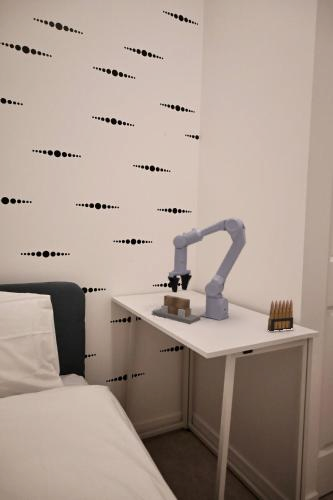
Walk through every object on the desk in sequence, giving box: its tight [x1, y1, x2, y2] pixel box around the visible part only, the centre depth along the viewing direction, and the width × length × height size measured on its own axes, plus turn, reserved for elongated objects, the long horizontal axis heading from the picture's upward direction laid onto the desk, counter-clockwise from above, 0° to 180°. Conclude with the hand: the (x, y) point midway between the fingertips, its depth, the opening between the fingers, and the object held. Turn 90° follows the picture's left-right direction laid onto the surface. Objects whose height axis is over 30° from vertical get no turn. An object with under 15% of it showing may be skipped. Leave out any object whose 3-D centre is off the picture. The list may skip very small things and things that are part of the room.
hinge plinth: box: [151, 304, 202, 325], centre depth 136 cm, size 20×8×4 cm, turn 52°
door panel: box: [163, 294, 191, 317], centre depth 136 cm, size 12×3×7 cm, turn 52°
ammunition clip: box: [267, 299, 294, 332], centre depth 122 cm, size 11×2×12 cm, turn 110°
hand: (179, 291), depth 146 cm, fingers open, 7 cm apart
